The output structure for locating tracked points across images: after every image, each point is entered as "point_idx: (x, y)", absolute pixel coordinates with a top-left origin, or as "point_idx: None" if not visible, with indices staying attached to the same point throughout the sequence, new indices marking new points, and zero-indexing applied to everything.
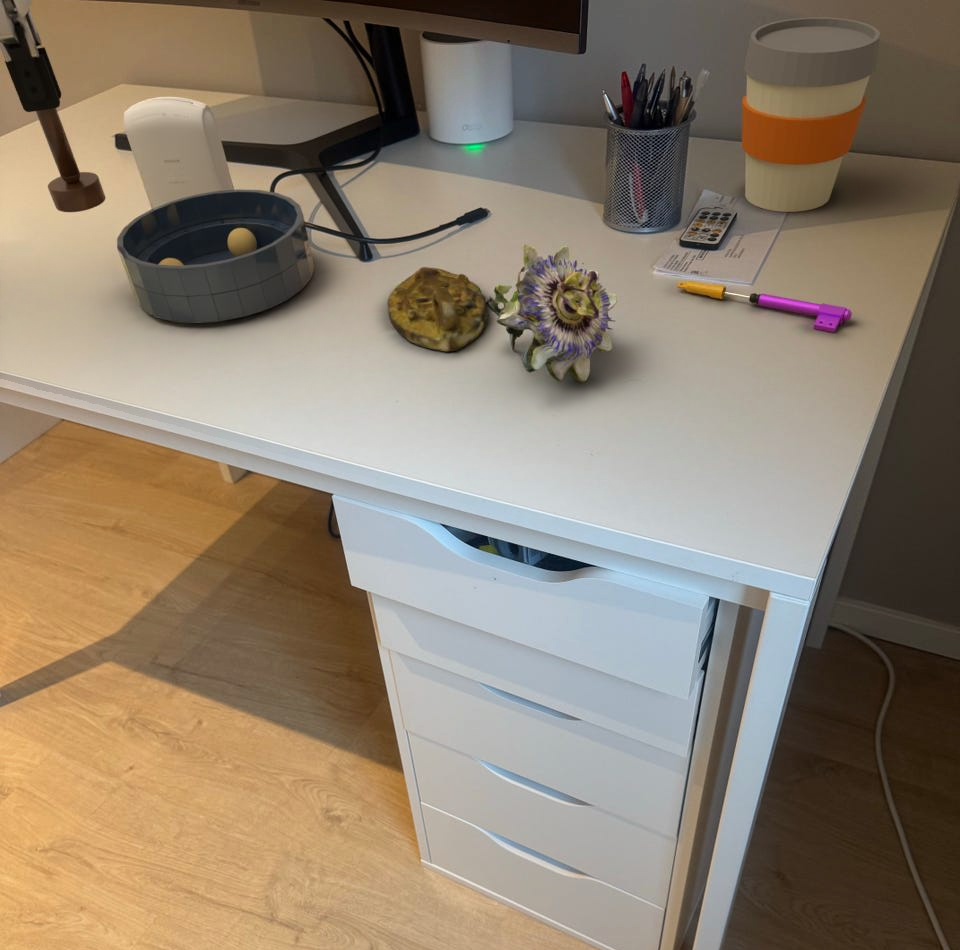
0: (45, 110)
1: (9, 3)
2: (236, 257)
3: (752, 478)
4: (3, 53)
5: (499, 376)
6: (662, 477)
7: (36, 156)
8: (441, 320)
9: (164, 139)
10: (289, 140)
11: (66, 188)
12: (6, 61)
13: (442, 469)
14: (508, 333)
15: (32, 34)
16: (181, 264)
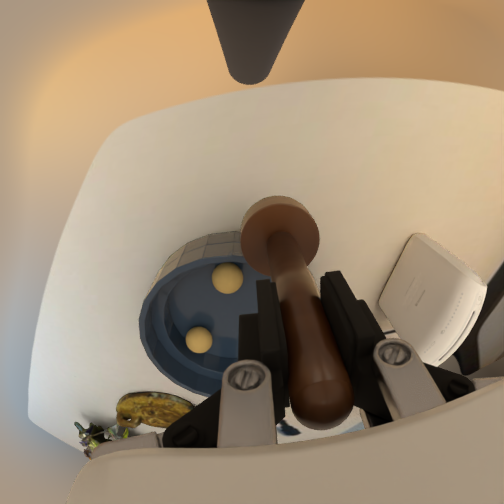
0: None
1: None
2: (154, 361)
3: (58, 430)
4: (224, 385)
5: (100, 410)
6: (52, 418)
7: None
8: (118, 414)
9: (431, 310)
10: (487, 324)
11: (251, 237)
12: (232, 365)
13: (37, 375)
14: (108, 427)
15: (366, 419)
16: (227, 293)
